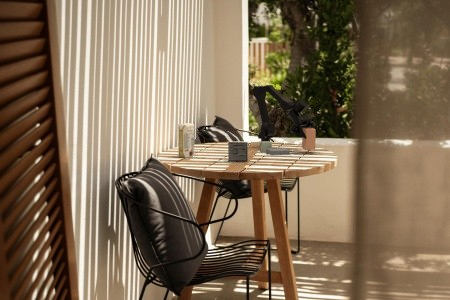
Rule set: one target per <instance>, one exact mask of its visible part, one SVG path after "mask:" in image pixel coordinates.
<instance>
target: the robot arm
mask: <svg viewBox="0 0 450 300" xmlns="http://www.w3.org/2000/svg"><path fill="white" fill-rule="evenodd" d="M251 90H252V91H251V92H252V95H253V97H254V98H255V100H256V101H257V105H258V106H257V107H258V111H259V115H260V120H261V125H260V132H259V133H258V134H257V138H258V139H260V142H261V141H269V142H271V139H273V138H274V135H275V134H276V131H275V130H276V128H275V124H274V123H273V122H271V121H270V120H271V119H270V116H269V111H268V107H267V102H266V98H267V93H268V94H269V95H270V96H271V97H272V98H273V99H274V100H275V101H276V102H277V103H278V104H279V107H280V108H281V109H282V110H283V112H284V111H285V112H286V113H285V114H286V115H285V117H286V118H290V119H291V120H292V126H290V128H289V131H290V133H291V134H294V135H296V136H299V137H301V138H302V137H303V138H305V139H306V138H307V137H306V135H305V134H304V132H303V130H302V128H313V129H315V127H316V126H317V123H316V122H315V121H312V120H313V117H314V116H313V115H312V113H308V114H304V115H301V114H302V113H303V112H304V111H305V109H306V108H307V107H308V103H307V102H306V101H305V100H303V99H302V98H298V99H297V101H296V102H294V101H292V100H291V99H290V98H287V97H285V96H284V95H283V94H282V93H280V91H278V90H277V89H276V87H275V86H274V85H273V84H266V85H255V86H253V87H252V89H251ZM300 113H301V114H300ZM310 120H311V121H310ZM308 121H309V122H308Z"/></svg>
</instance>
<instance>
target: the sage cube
mask: <svg viewBox="0 0 450 300" xmlns="http://www.w3.org/2000/svg"><path fill="white" fill-rule="evenodd" d="M272 148H273V144H272V141H270V142H269V141H261V140H260V141H259V142H258V149H259V150H258V151H259V152H260V153H266V149H272Z"/></svg>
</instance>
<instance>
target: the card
mask: <svg viewBox="0 0 450 300" xmlns="http://www.w3.org/2000/svg"><path fill="white" fill-rule="evenodd" d="M291 151H292V152H294V153H298V152H299V153H301V152H302V153H304V152H305V153H306V152H308V150H305V149H303V148H301V149H298V148H297V149H291Z"/></svg>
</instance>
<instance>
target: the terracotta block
mask: <svg viewBox="0 0 450 300" xmlns="http://www.w3.org/2000/svg"><path fill="white" fill-rule="evenodd" d="M302 130H303V132H304V134H305V135H306V137H307V138H306V139H305V138H303V137H301V138H302V140H301V149H304V150H307V151H308V150H316V135H317V134H316V131H317V130H316V129H315V128H314V129H313V128H302Z"/></svg>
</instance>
